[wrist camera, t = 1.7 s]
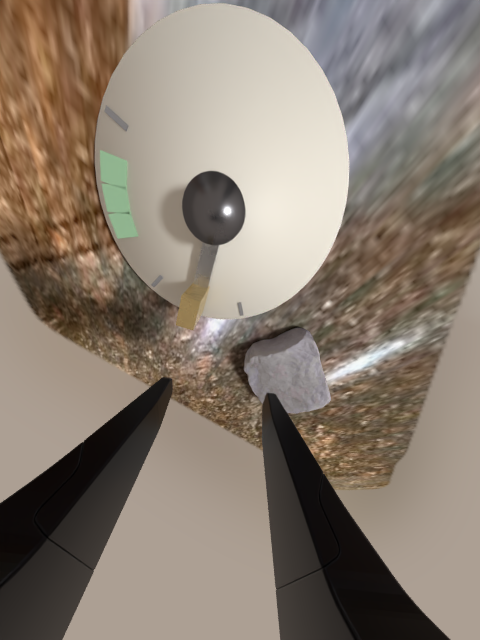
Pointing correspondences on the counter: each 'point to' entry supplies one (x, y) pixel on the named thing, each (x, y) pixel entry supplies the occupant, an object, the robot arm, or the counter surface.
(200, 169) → the dial plate
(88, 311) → the counter surface
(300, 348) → the stone block
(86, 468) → the robot arm
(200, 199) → the tuner lever
